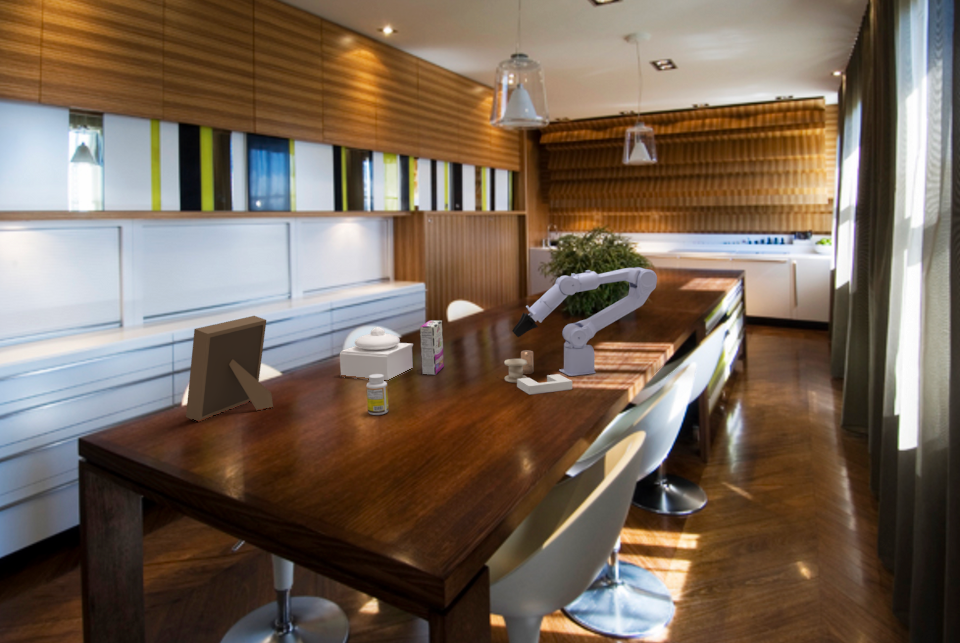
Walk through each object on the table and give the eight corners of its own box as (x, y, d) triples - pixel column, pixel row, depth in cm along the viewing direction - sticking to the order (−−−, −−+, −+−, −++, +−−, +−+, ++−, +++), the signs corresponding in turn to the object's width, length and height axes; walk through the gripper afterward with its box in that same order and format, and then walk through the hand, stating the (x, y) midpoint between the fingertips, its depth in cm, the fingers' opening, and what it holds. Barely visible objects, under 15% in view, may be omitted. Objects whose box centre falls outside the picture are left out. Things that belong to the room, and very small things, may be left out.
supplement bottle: (379, 408, 179) (377, 372, 177) (392, 411, 175) (391, 375, 173) (363, 413, 175) (361, 376, 173) (377, 417, 171) (375, 379, 169)
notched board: (558, 381, 202) (558, 374, 201) (572, 389, 193) (572, 380, 193) (517, 386, 197) (517, 378, 196) (529, 394, 189) (529, 386, 188)
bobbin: (521, 375, 210) (521, 357, 209) (530, 381, 203) (530, 362, 202) (501, 378, 207) (501, 359, 206) (509, 383, 201) (509, 364, 200)
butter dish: (341, 377, 214) (338, 330, 211) (369, 365, 230) (367, 321, 227) (387, 381, 207) (385, 332, 204) (414, 368, 223) (412, 323, 221)
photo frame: (186, 420, 171) (177, 327, 167) (244, 398, 191) (238, 314, 187) (229, 427, 166) (222, 331, 161) (285, 403, 186) (280, 317, 181)
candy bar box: (430, 366, 225) (428, 320, 222) (444, 367, 224) (442, 320, 221) (421, 375, 214) (419, 326, 211) (435, 375, 213) (434, 326, 210)
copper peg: (530, 370, 217) (530, 350, 215) (535, 373, 213) (535, 352, 212) (519, 371, 215) (518, 351, 214) (524, 374, 212) (523, 353, 210)
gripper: (535, 295, 214) (505, 323, 215) (539, 295, 200) (507, 326, 200) (549, 310, 215) (520, 339, 215) (555, 312, 200) (523, 342, 201)
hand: (514, 334), depth 208 cm, fingers open, 7 cm apart
